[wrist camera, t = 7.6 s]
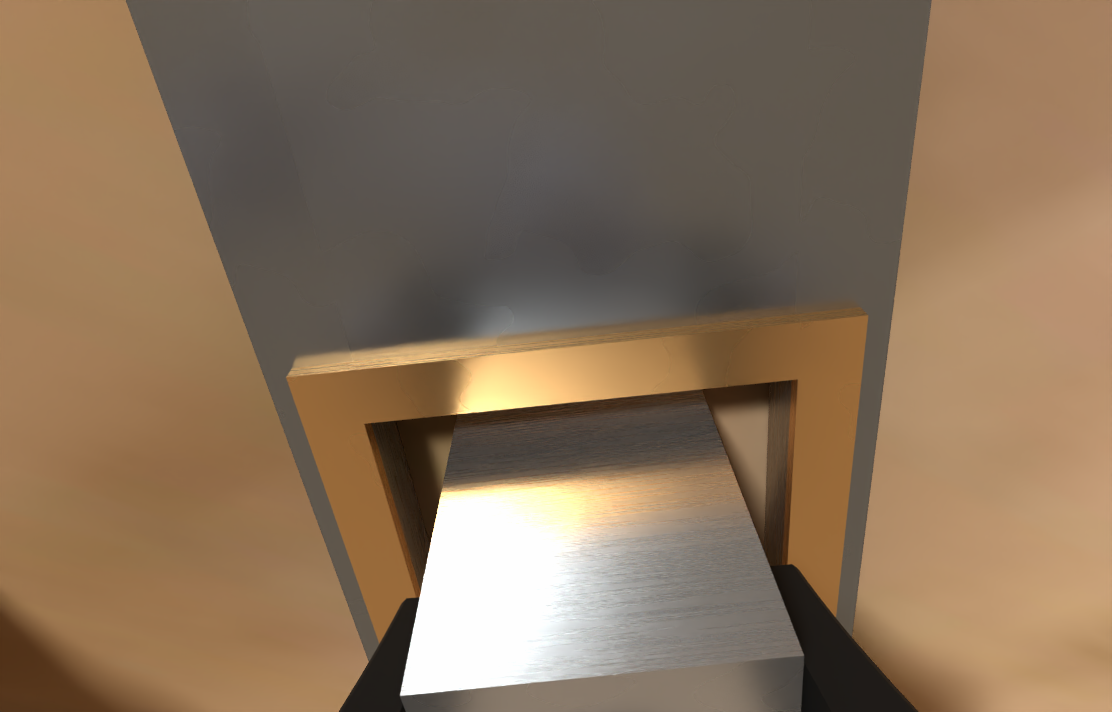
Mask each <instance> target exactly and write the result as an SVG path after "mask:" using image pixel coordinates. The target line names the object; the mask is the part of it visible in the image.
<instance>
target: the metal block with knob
mask: <svg viewBox="0 0 1112 712" xmlns="http://www.w3.org/2000/svg"><path fill="white" fill-rule="evenodd" d="M803 668H804V654H803V651H802V649H801V646H800V644H799V641H798V638H797V636H796V633H795V631H794V628H793V625H792V623H791V620H790V618H789V615H788V612H787V610H786V607H785V605H784V602H783V599H782V597H781V594H780V592H779V589H778V586H777V584H776V581H775V579H774V576H773V574H772V571H771V568H770V566H769V563H768V561H767V558H766V555H765V553H764V550H763V548H762V545H761V542H760V540H759V537H758V535H757V532H756V529H755V527H754V524H753V522H752V519H751V516H750V514H749V511H748V509H747V506H746V503H745V501H744V498H743V496H742V493H741V491H740V488H739V485H738V483H737V480H736V478H735V475H734V472H733V470H732V467H731V465H730V462H729V459H728V457H727V454H726V452H725V449H724V446H723V444H722V441H721V439H720V436H719V433H718V431H717V428H716V426H715V423H714V420H713V418H712V415H711V413H710V410H709V407H708V405H707V402H706V400H705V397H704V395H703V392H702V389H699V390H689V391H680V392H670V393H660V394H650V395H640V396H631V397H621V398H611V399H601V400H592V401H582V402H572V403H562V404H552V405H543V406H533V407H523V408H513V409H504V410H494V411H484V412H474V413H465V414H457V418H456V423H455V428H454V433H453V437H452V442H451V447H450V452H449V457H448V462H447V467H446V472H445V477H444V482H443V487H442V492H441V496H440V501H439V506H438V511H437V516H436V521H435V526H434V531H433V536H432V541H431V546H430V551H429V555H428V560H427V565H426V570H425V575H424V580H423V585H422V590H421V595H420V600H419V605H418V610H417V614H416V619H415V624H414V629H413V634H412V639H411V644H410V649H409V654H408V659H407V664H406V669H405V673H404V678H403V683H402V688H401V693H400V698H401V700H402V703H403V706H404V708H405V711H406V712H801V702H802V685H803Z"/></svg>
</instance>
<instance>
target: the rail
mask: <svg viewBox="0 0 1112 712" xmlns="http://www.w3.org/2000/svg"><path fill="white" fill-rule="evenodd" d="M126 2H127V5H128V8H129V11H130V13H131V16H132V19H133V21H134V24H135V27H136V30H137V32H138V35H139V38H140V40H141V43H142V46H143V49H144V51H145V54H146V57H147V59H148V62H149V65H150V68H151V70H152V73H153V76H154V79H155V81H156V84H157V87H158V89H159V92H160V95H161V98H162V100H163V103H164V106H165V108H166V111H167V114H168V117H169V119H170V122H171V125H172V127H173V130H174V133H175V136H176V138H177V141H178V144H179V147H180V149H181V152H182V155H183V157H184V160H185V163H186V166H187V168H188V171H189V174H190V176H191V179H192V182H193V185H194V187H195V190H196V193H197V195H198V198H199V201H200V204H201V206H202V209H203V212H204V215H205V217H206V220H207V223H208V225H209V228H210V231H211V234H212V236H213V239H214V242H215V244H216V247H217V250H218V253H219V255H220V258H221V261H222V263H223V266H224V269H225V272H226V274H227V277H228V280H229V283H230V285H231V288H232V291H233V293H234V296H235V299H236V302H237V304H238V307H239V310H240V312H241V315H242V318H243V321H244V323H245V326H246V329H247V331H248V334H249V337H250V340H251V342H252V345H253V348H254V351H255V353H256V356H257V359H258V361H259V364H260V367H261V370H262V372H263V375H264V378H265V380H266V383H267V386H268V389H269V391H270V394H271V397H272V399H273V402H274V405H275V408H276V410H277V413H278V416H279V419H280V421H281V424H282V427H283V429H284V432H285V435H286V438H287V440H288V443H289V446H290V448H291V451H292V454H293V457H294V459H295V462H296V465H297V467H298V470H299V473H300V476H301V478H302V481H303V484H304V486H305V489H306V492H307V495H308V497H309V500H310V503H311V506H312V508H313V511H314V514H315V516H316V519H317V522H318V525H319V527H320V530H321V533H322V535H323V538H324V541H325V544H326V546H327V549H328V552H329V554H330V557H331V560H332V563H333V565H334V568H335V571H336V574H337V576H338V579H339V582H340V584H341V587H342V590H343V593H344V595H345V598H346V601H347V603H348V606H349V609H350V612H351V614H352V617H353V620H354V622H355V625H356V628H357V631H358V633H359V636H360V639H361V642H362V644H363V647H364V650H365V652H366V655H367V658H368V661H370V659H371V658H372V656H373V654H374V652H375V651H376V649H377V647H378V645H379V644H380V642H381V640H382V638H383V637H384V635H385V633H386V631H387V629H388V627H389V626H390V624H391V622H392V620H393V618H394V616H395V615H396V613H397V611H398V609H399V607H400V605H401V604H402V603H403V601H404V600H405V599H406V598H416V597H420V595H421V590H422V585H423V580H424V575H425V570H426V565H427V560H428V555H429V551H430V545H429V541H428V538H427V534H426V530H425V527H424V523H423V519H422V516H421V512H420V508H419V505H418V501H417V497H416V494H415V490H414V486H413V483H412V479H411V475H410V472H409V468H408V464H407V461H406V457H405V453H404V450H403V446H402V442H401V439H400V435H399V431H398V428H397V424H396V420H406V419H416V418H425V417H435V416H445V415H455V414H465V413H474V412H484V411H494V410H504V409H513V408H523V407H533V406H543V405H552V404H562V403H572V402H582V401H592V400H601V399H611V398H621V397H631V396H640V395H650V394H660V393H670V392H680V391H689V390H699V389H709V388H719V387H728V386H738V385H748V384H758V383H768V382H770V390H769V419H768V448H767V477H766V507H765V536H764V553H765V555H766V558H767V561H768V563H769V566H777V565H788V564H793V565H794V566H795V567H797V568H798V569H799V570H800V572H801V573H802V574H803V576H804V577H805V579H806V580H807V581H808V583H809V584H810V585H811V587H812V588H813V589H814V591H815V592H816V593H817V595H818V596H819V597H820V598H821V600H822V601H823V602H824V604H825V605H826V606H827V607H828V609H829V610H830V611H831V612H832V614H833V615H834V616H835V617H836V619H837V620H838V621H839V622H840V623H841V625H842V626H843V627H844V628H845V630H846V631H847V632H848V633H849V634H850V636H851V637H852V632H853V624H854V616H855V608H856V600H857V592H858V584H859V576H860V568H861V560H862V552H863V544H864V536H865V528H866V520H867V512H868V504H869V496H870V488H871V480H872V472H873V464H874V456H875V448H876V440H877V432H878V424H879V416H880V408H881V400H882V392H883V384H884V376H885V368H886V360H887V352H888V344H889V336H890V328H891V320H892V312H893V304H894V296H895V288H896V280H897V272H898V264H899V256H900V248H901V240H902V232H903V224H904V216H905V208H906V200H907V192H908V184H909V176H910V168H911V160H912V152H913V144H914V136H915V128H916V120H917V112H918V104H919V96H920V88H921V80H922V72H923V64H924V56H925V48H926V40H927V32H928V24H929V16H930V8H931V0H126Z"/></svg>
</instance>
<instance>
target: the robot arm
mask: <svg viewBox="0 0 1112 712" xmlns="http://www.w3.org/2000/svg"><path fill="white" fill-rule="evenodd" d="M770 568H771V571H772V574H773V576H774V579H775V581H776V584H777V586H778V589H779V592H780V594H781V597H782V599H783V602H784V605H785V607H786V610H787V612H788V615H789V618H790V620H791V623H792V625H793V628H794V631H795V633H796V636H797V638H798V641H799V644H800V646H801V649H802V651H803V654H804V668H803V685H802V702H801V712H918V711H917V710H916V709H915V708H914V706H913V705H912V704H911V703H910V702H909V701H908V700H907V699H906V698H905V697H904V696H903V695H902V694H901V692H900V691H899V690H898V689H897V688H896V687H895V686H894V685H893V684H892V683H891V681H890V680H889V679H888V678H887V677H886V676H885V675H884V674H883V672H882V671H881V670H880V669H879V668H878V667H877V666H876V665H875V663H874V662H873V661H872V660H871V659H870V658H869V657H868V656H867V654H866V653H865V652H864V651H863V650H862V649H861V648H860V646H859V645H858V644H857V643H856V642H855V640H854V639H853V638H852V637H851V636H850V634H849V633H848V632H847V631H846V630H845V628H844V627H843V626H842V625H841V623H840V622H839V621H838V620H837V619H836V617H835V616H834V615H833V614H832V612H831V611H830V610H829V609H828V607H827V606H826V605H825V604H824V602H823V601H822V600H821V598H820V597H819V596H818V595H817V593H816V592H815V591H814V589H813V588H812V587H811V585H810V584H809V583H808V581H807V580H806V579H805V577H804V576H803V574H802V573H801V572H800V570H799V569H798V568H797V567H795V566H794V565H793V564H788V565H777V566H770ZM419 600H420V597H416V598H406V599H405V600H404V601H403V603H402V604H401V605H400V607H399V609H398V611H397V613H396V615H395V616H394V618H393V620H392V622H391V624H390V626H389V627H388V629H387V631H386V633H385V635H384V637H383V638H382V640H381V642H380V644H379V645H378V647H377V649H376V651H375V652H374V654H373V656H372V658H371V659H370V661H369V663H368V664H367V666H366V668H365V670H364V671H363V673H362V675H361V676H360V678H359V680H358V681H357V683H356V685H355V686H354V688H353V689H352V691H351V693H350V694H349V696H348V698H347V699H346V701H345V702H344V704H343V706H342V707H341V709H340V710H339V712H406V711H405V708H404V706H403V703H402V700H401V698H400V693H401V688H402V683H403V678H404V673H405V669H406V664H407V659H408V654H409V649H410V644H411V639H412V634H413V629H414V624H415V619H416V614H417V610H418V605H419Z"/></svg>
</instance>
